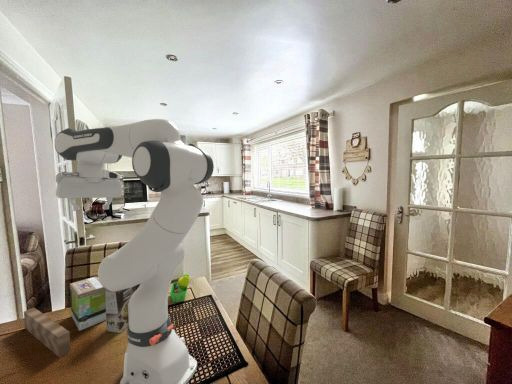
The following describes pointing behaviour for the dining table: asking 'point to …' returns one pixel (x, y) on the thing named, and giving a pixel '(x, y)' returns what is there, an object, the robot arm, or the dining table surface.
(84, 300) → the tea box
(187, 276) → the fruit basket
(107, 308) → the coffee box
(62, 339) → the grey-brown long bar
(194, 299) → the dining table surface
